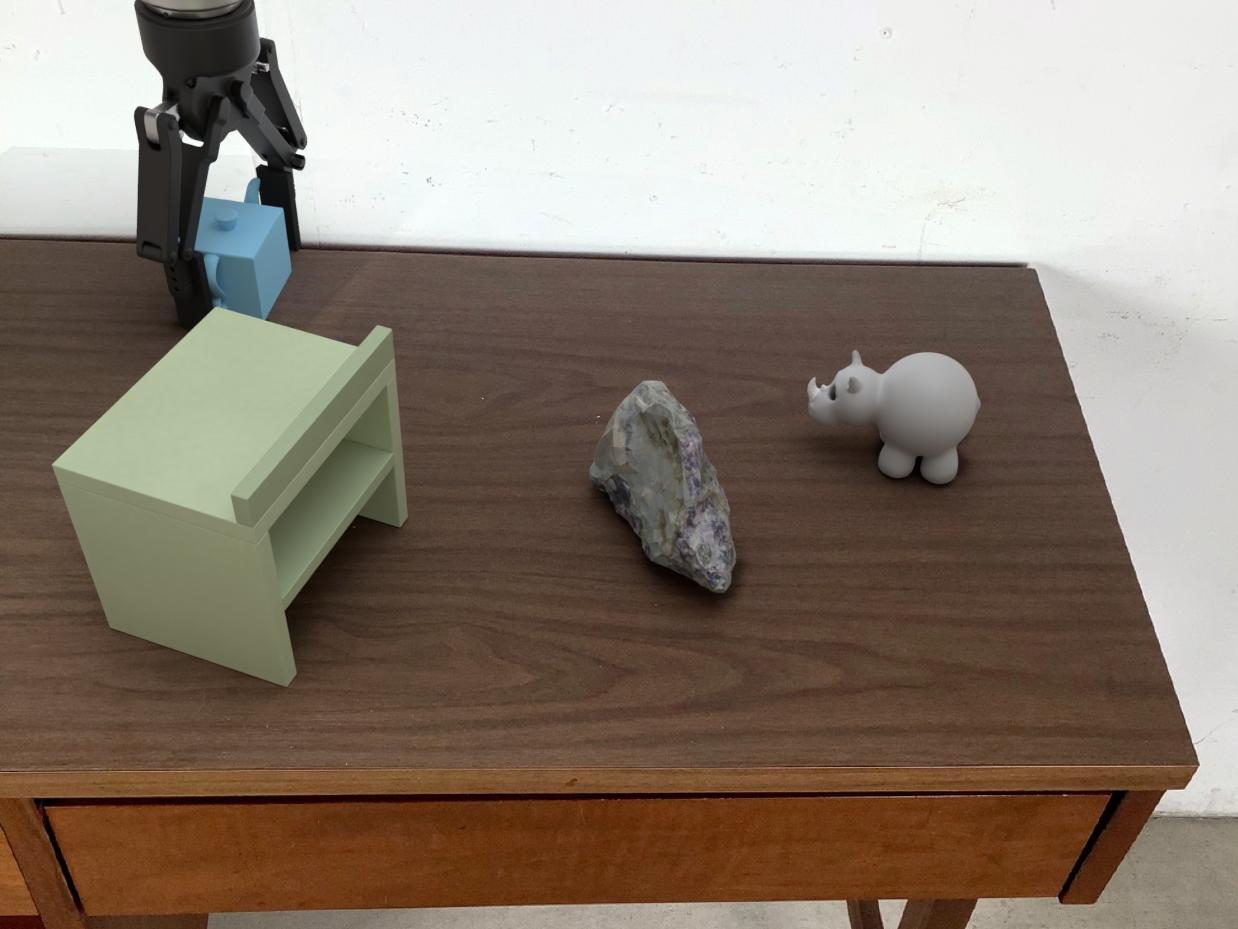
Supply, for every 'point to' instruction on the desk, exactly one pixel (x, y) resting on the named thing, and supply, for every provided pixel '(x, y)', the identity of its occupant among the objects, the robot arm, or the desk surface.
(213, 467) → the shelf
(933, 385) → the toy rhinoceros
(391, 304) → the desk surface
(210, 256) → the teapot
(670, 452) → the mineral rock
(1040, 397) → the desk surface
